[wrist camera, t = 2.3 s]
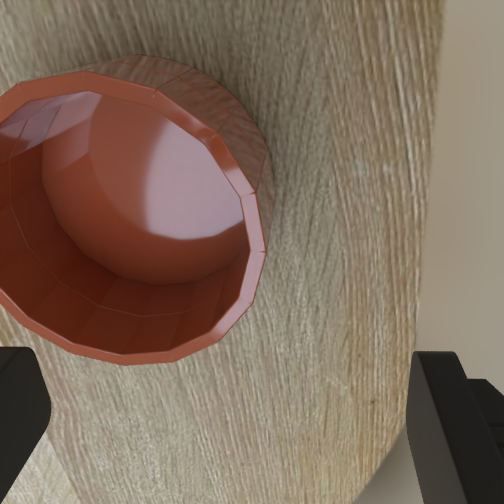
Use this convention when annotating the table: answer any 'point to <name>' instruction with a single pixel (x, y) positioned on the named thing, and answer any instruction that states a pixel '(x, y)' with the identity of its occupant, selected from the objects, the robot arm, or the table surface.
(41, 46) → the table surface
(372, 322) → the table surface
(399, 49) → the table surface
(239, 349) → the table surface
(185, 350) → the bowl
